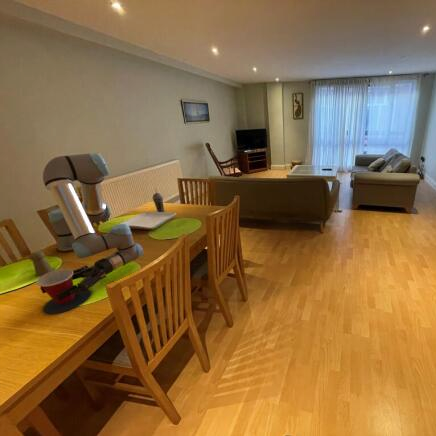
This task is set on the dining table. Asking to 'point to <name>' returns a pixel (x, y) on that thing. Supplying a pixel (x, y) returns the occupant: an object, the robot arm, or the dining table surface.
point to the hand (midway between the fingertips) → (49, 294)
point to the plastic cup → (57, 284)
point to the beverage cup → (158, 201)
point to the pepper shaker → (40, 263)
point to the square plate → (148, 220)
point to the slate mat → (57, 308)
